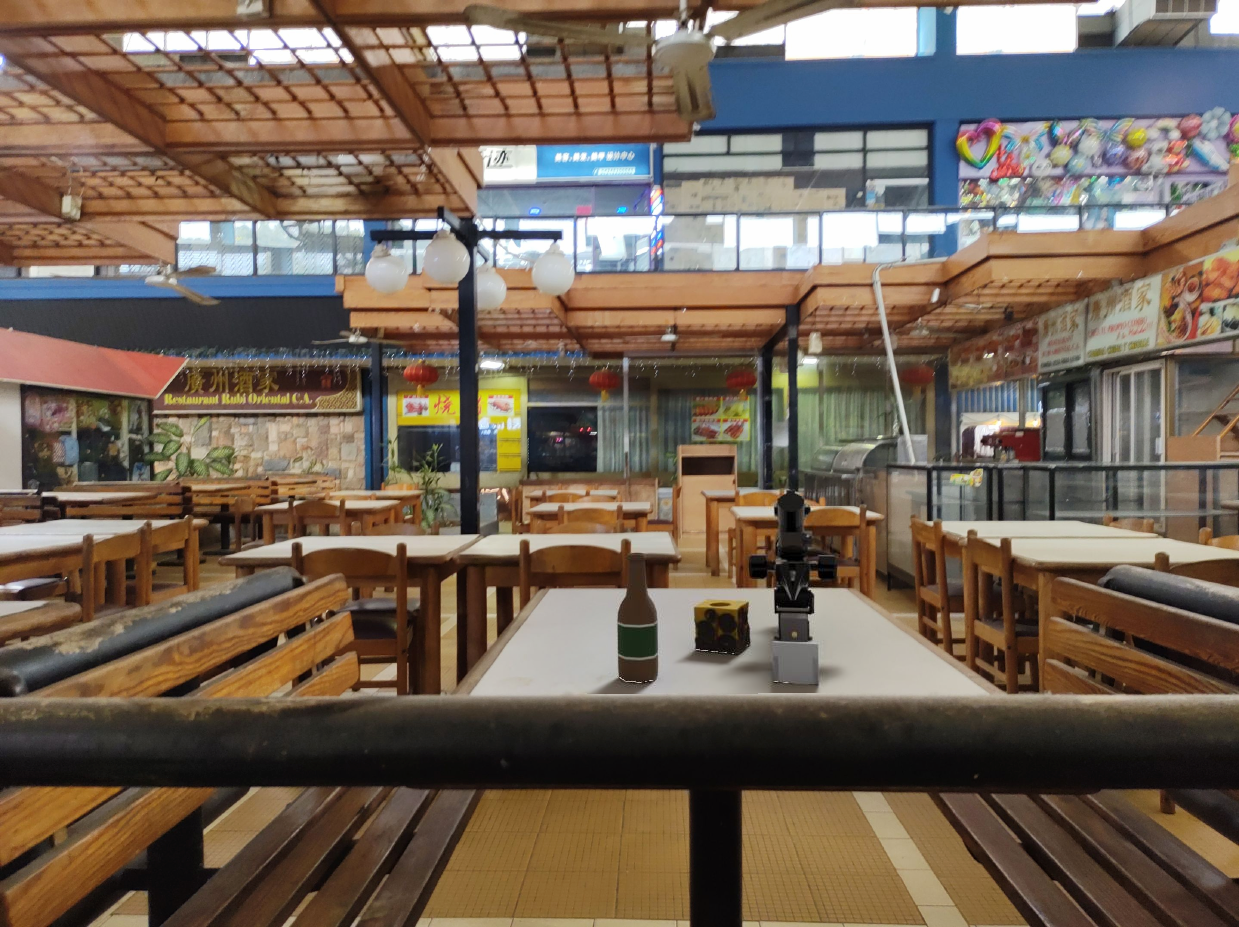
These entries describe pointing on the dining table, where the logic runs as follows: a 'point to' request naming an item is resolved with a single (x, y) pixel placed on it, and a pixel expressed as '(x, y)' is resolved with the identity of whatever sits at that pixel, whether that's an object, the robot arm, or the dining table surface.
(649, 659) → the beer bottle
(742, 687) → the dining table surface
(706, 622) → the yellow and black cube
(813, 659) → the socket
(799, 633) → the plug
